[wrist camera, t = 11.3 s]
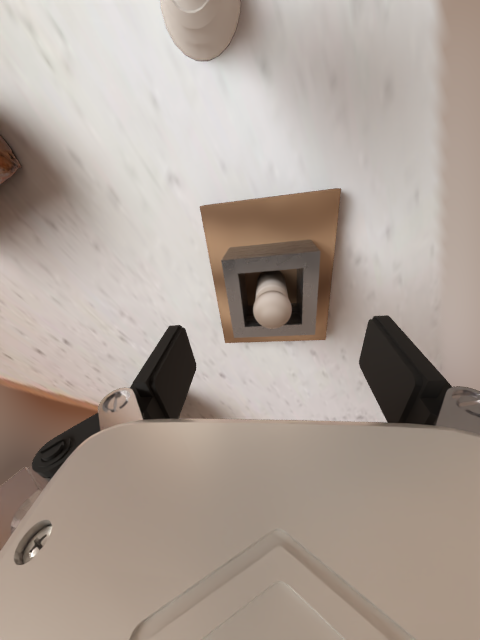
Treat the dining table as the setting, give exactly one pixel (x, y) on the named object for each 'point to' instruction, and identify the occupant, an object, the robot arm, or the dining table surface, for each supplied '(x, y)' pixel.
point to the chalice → (201, 25)
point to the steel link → (270, 259)
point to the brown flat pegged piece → (264, 228)
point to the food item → (7, 161)
